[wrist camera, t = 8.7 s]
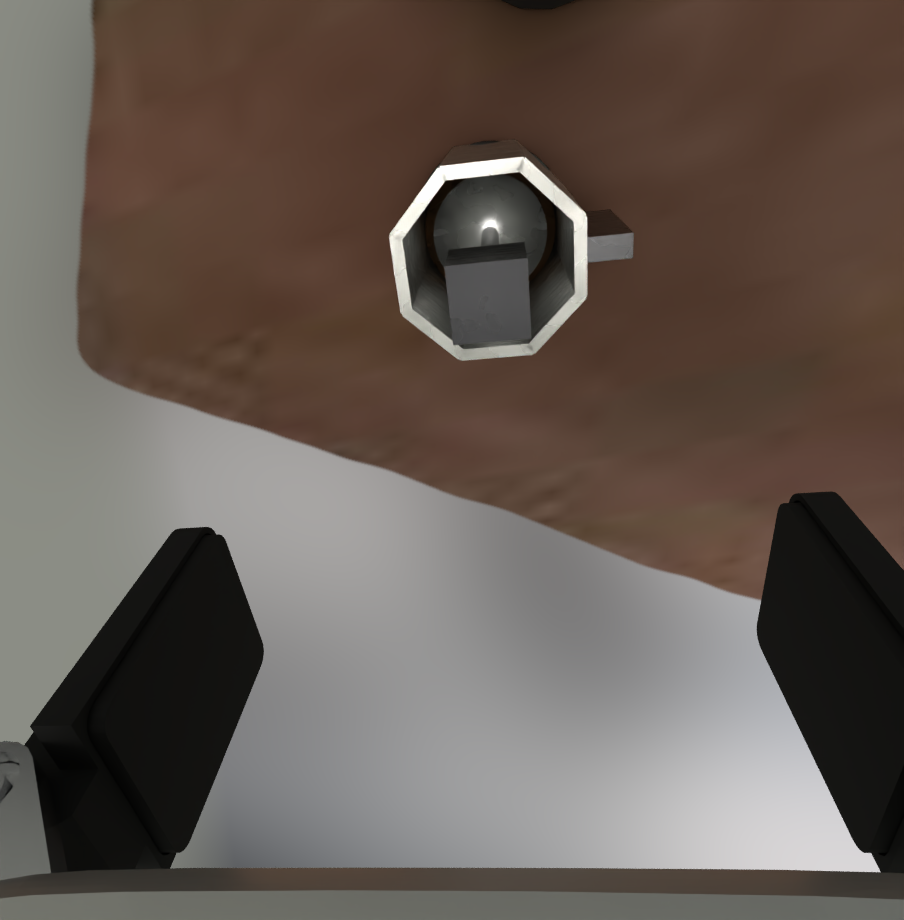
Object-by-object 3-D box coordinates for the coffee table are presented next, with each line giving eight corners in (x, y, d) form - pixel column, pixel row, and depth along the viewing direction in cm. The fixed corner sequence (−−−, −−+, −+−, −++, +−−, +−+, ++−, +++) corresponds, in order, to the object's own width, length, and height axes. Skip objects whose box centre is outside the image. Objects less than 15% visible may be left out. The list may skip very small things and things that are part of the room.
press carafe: (601, 126, 37) (643, 140, 27) (600, 285, 42) (635, 348, 32) (407, 150, 38) (376, 171, 28) (427, 301, 43) (407, 366, 33)
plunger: (544, 165, 35) (572, 205, 23) (547, 283, 38) (574, 374, 26) (427, 179, 36) (394, 224, 23) (441, 293, 39) (418, 386, 27)
